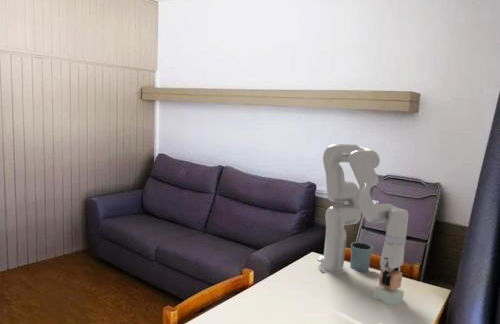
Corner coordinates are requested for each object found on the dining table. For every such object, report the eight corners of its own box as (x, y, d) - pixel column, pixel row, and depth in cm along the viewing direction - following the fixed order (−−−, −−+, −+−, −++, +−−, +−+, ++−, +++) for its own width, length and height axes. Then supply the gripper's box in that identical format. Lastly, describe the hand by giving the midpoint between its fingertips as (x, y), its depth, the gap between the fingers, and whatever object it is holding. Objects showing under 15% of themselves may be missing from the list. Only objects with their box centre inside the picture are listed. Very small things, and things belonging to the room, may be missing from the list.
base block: (374, 296, 165) (375, 287, 164) (384, 292, 170) (386, 283, 169) (391, 304, 159) (393, 295, 158) (402, 299, 164) (403, 290, 163)
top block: (379, 284, 164) (380, 270, 163) (387, 281, 168) (388, 267, 167) (392, 290, 159) (394, 275, 159) (400, 287, 163) (402, 272, 162)
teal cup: (365, 265, 202) (368, 242, 201) (373, 274, 192) (376, 249, 191) (345, 265, 202) (348, 241, 200) (352, 273, 192) (355, 248, 190)
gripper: (398, 233, 169) (393, 275, 172) (374, 240, 158) (369, 284, 161) (415, 239, 164) (409, 281, 166) (392, 245, 153) (386, 291, 155)
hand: (390, 282), depth 163 cm, fingers closed on top block, 5 cm apart
